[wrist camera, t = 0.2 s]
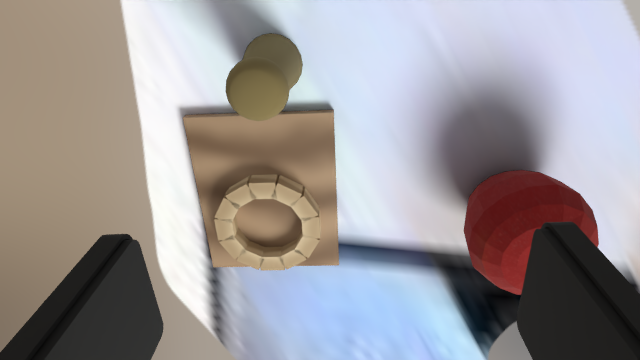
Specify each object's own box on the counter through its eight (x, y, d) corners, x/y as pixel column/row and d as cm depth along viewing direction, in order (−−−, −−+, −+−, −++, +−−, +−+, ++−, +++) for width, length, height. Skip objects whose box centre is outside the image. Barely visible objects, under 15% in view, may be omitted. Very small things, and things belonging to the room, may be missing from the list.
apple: (515, 127, 46) (577, 186, 34) (575, 194, 49) (650, 269, 37) (427, 196, 50) (455, 270, 38) (488, 253, 53) (530, 338, 42)
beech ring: (212, 176, 49) (207, 184, 47) (317, 173, 48) (316, 181, 46) (227, 260, 54) (224, 270, 52) (322, 259, 54) (321, 269, 52)
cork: (251, 24, 42) (224, 45, 32) (310, 45, 43) (301, 71, 33) (237, 82, 45) (209, 118, 35) (292, 100, 45) (280, 140, 36)
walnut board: (185, 114, 46) (182, 117, 46) (333, 109, 46) (333, 112, 45) (215, 262, 56) (213, 267, 55) (338, 260, 55) (338, 265, 54)
